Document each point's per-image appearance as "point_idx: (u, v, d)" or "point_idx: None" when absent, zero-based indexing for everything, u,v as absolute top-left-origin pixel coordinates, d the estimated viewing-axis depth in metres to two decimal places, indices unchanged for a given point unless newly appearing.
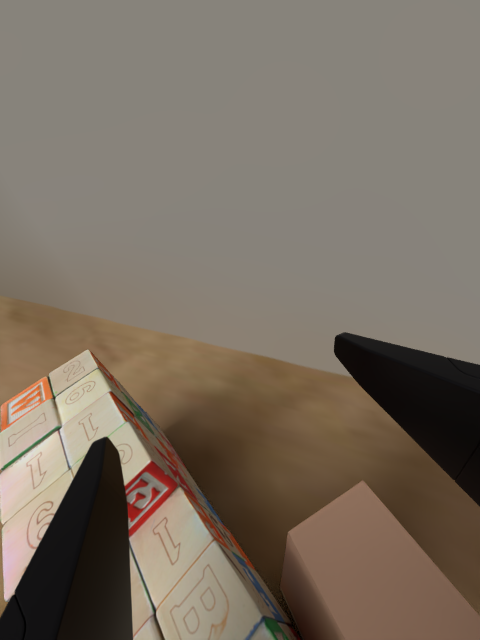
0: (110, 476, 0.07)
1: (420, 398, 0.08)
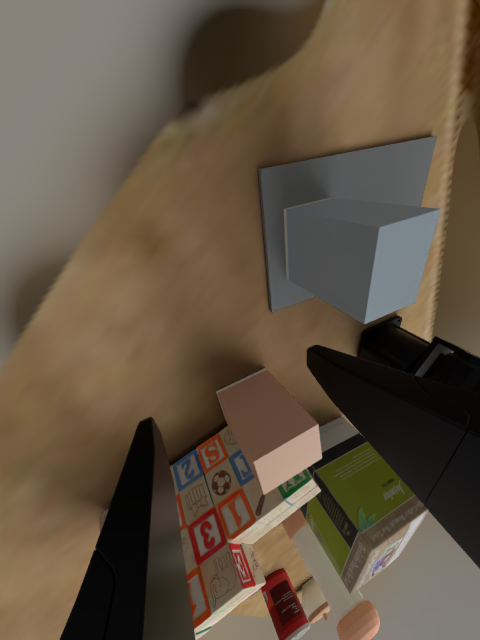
0: (160, 452, 0.07)
1: (386, 418, 0.07)
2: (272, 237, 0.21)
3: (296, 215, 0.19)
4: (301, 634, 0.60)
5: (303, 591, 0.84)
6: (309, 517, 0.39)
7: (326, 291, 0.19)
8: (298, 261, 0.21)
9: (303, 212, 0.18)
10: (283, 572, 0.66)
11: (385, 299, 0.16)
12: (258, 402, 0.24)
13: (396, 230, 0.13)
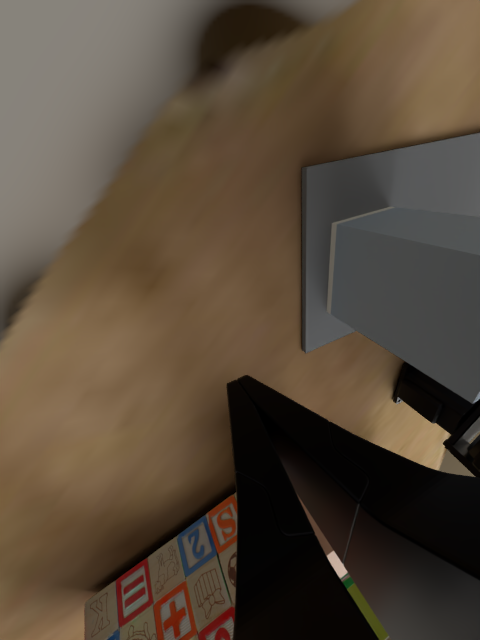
0: None
1: (300, 469, 0.07)
2: (314, 261, 0.15)
3: (355, 233, 0.13)
4: None
5: None
6: None
7: (397, 342, 0.13)
8: (350, 294, 0.15)
9: (368, 230, 0.13)
10: None
11: None
12: None
13: None
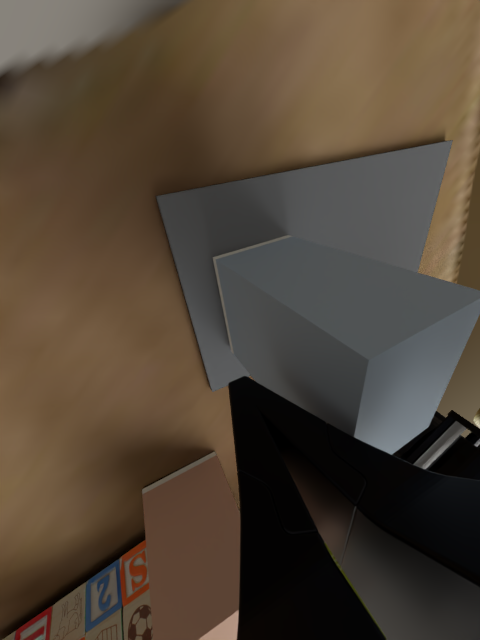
0: None
1: (297, 470, 0.07)
2: (197, 297, 0.13)
3: (228, 272, 0.11)
4: None
5: None
6: None
7: None
8: (240, 337, 0.13)
9: (236, 271, 0.10)
10: None
11: (380, 447, 0.08)
12: (193, 521, 0.17)
13: (405, 352, 0.06)
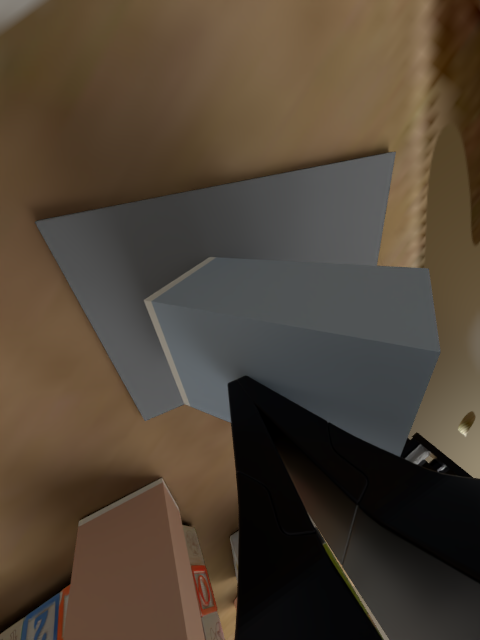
0: None
1: (299, 470, 0.07)
2: (107, 326, 0.12)
3: (181, 312, 0.09)
4: None
5: None
6: None
7: None
8: (206, 384, 0.11)
9: (197, 307, 0.08)
10: None
11: None
12: (124, 560, 0.15)
13: None
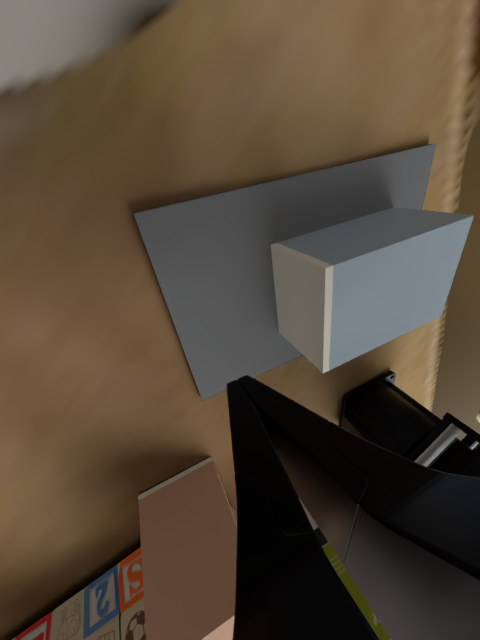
0: None
1: (300, 469, 0.07)
2: (180, 309, 0.13)
3: (359, 261, 0.11)
4: None
5: None
6: None
7: (400, 325, 0.14)
8: (354, 327, 0.13)
9: (370, 251, 0.11)
10: None
11: None
12: (188, 527, 0.17)
13: None
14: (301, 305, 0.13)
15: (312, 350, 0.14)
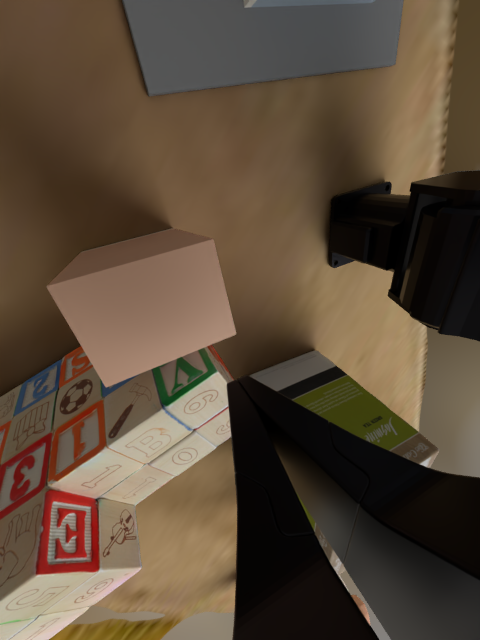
0: None
1: (300, 469, 0.07)
2: None
3: None
4: None
5: None
6: None
7: None
8: None
9: None
10: None
11: None
12: (133, 245, 0.13)
13: None
14: None
15: None
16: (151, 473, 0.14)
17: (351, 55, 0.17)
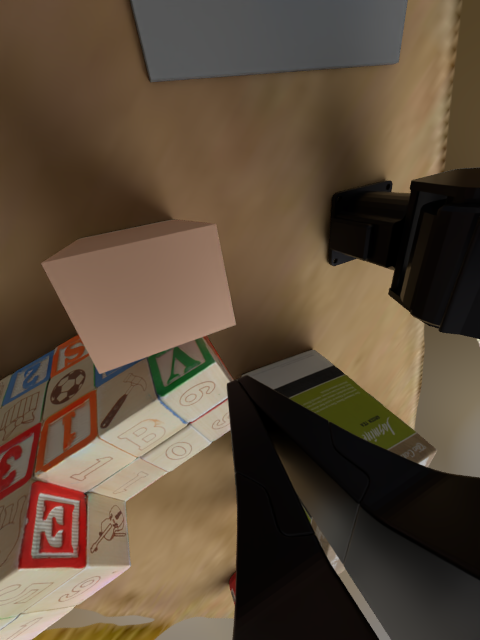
0: None
1: (300, 469, 0.07)
2: None
3: None
4: None
5: None
6: None
7: None
8: None
9: None
10: None
11: None
12: (132, 232, 0.13)
13: None
14: None
15: None
16: (143, 467, 0.14)
17: (355, 51, 0.17)
